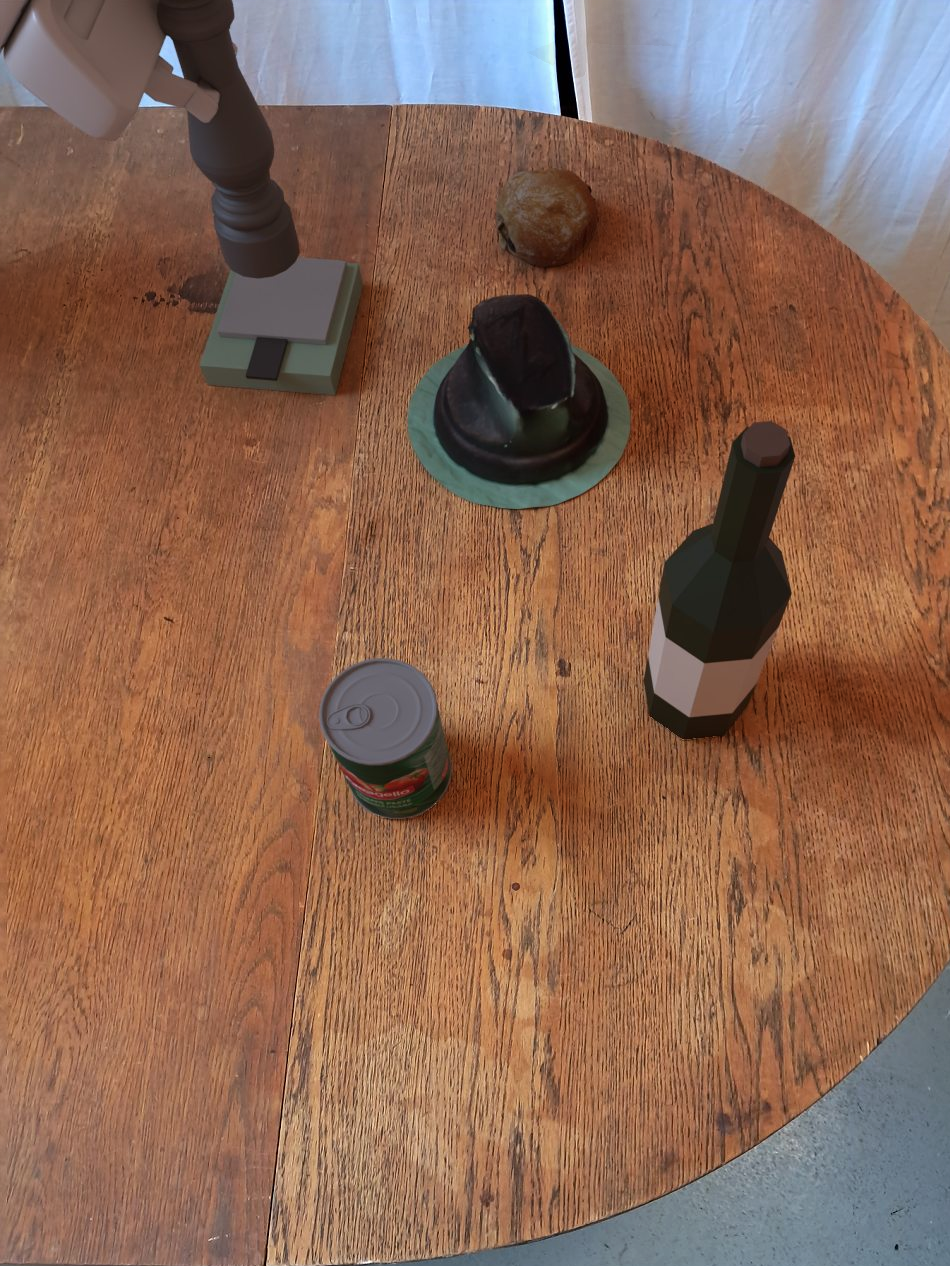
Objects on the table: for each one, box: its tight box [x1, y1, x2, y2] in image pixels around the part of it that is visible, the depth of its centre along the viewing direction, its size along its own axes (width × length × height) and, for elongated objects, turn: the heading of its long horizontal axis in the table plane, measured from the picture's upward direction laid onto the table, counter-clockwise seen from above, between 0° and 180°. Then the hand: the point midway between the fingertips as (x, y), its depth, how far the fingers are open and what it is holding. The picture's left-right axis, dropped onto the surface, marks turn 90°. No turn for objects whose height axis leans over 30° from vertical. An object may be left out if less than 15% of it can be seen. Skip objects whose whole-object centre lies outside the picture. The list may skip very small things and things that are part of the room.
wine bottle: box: [643, 420, 796, 740], centre depth 68 cm, size 8×8×30 cm
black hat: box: [407, 293, 632, 510], centre depth 91 cm, size 15×19×20 cm
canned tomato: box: [318, 657, 453, 820], centre depth 74 cm, size 8×8×11 cm
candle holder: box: [157, 0, 301, 279], centre depth 74 cm, size 6×6×25 cm
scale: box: [199, 256, 364, 396], centre depth 97 cm, size 12×15×3 cm
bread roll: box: [495, 167, 599, 268], centre depth 102 cm, size 10×10×8 cm
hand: (223, 87), depth 73 cm, fingers closed on candle holder, 4 cm apart
